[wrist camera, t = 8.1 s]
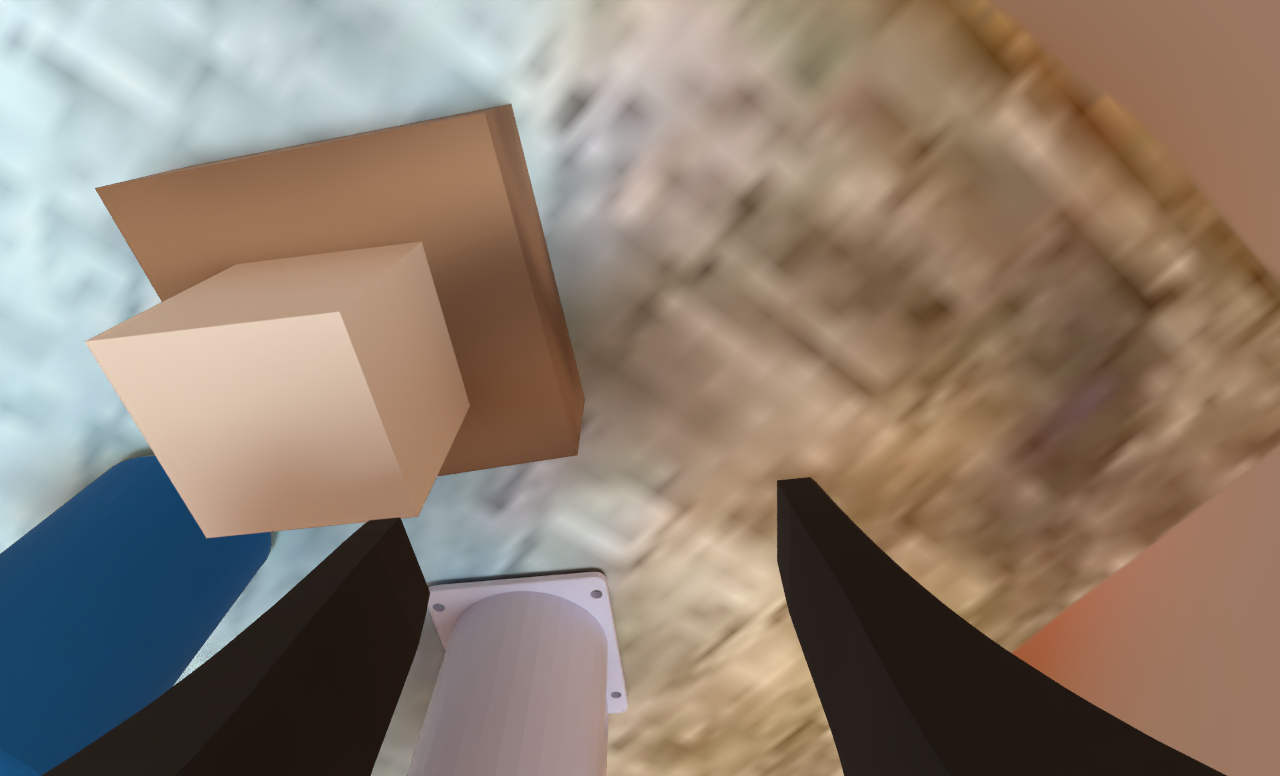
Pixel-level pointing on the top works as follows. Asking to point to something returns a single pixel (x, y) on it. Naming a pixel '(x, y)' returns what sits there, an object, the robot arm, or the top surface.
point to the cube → (295, 389)
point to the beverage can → (107, 611)
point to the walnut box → (389, 215)
